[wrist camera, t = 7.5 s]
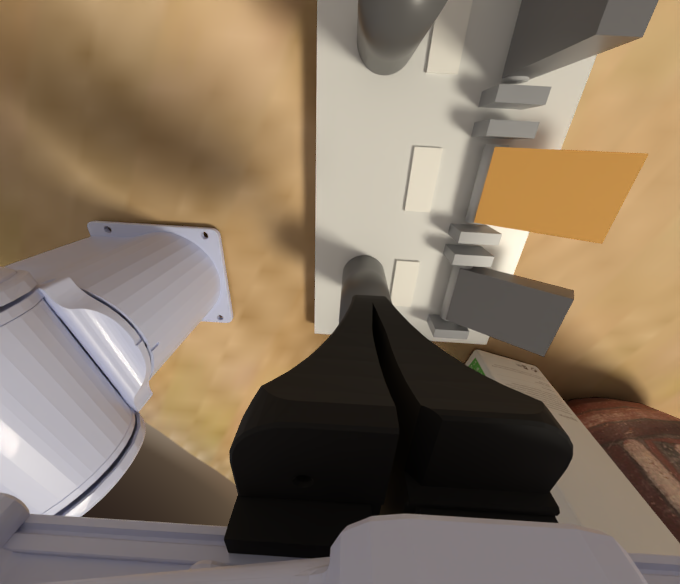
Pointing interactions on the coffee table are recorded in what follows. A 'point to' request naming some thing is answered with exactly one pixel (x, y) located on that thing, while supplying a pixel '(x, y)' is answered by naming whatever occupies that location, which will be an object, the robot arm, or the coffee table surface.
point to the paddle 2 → (570, 33)
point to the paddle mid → (552, 190)
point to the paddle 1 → (506, 306)
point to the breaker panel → (419, 149)
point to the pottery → (639, 449)
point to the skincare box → (585, 469)
